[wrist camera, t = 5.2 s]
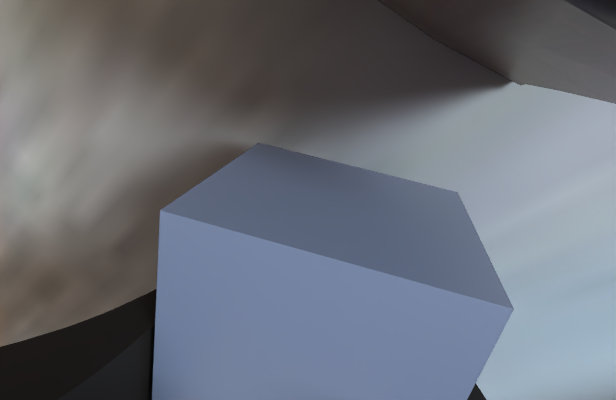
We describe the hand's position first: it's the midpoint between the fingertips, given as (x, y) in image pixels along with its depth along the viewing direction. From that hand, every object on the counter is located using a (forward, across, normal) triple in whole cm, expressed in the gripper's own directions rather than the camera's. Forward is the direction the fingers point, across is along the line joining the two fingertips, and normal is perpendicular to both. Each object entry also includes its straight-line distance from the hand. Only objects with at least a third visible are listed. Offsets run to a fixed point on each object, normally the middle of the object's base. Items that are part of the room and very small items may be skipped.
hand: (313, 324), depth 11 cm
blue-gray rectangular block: (+2, 0, 0) cm, 2 cm away
